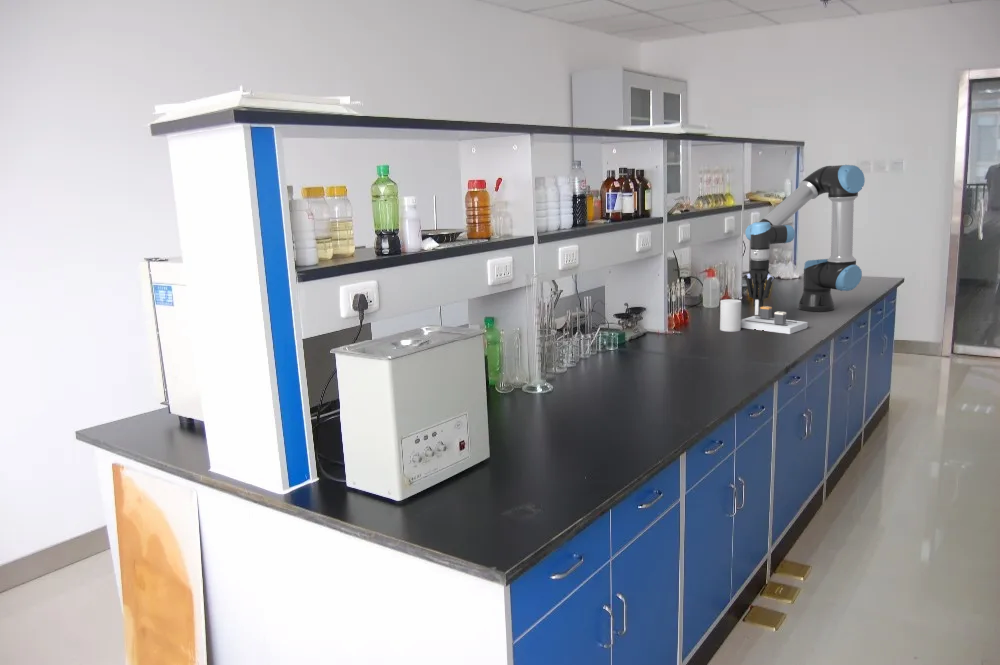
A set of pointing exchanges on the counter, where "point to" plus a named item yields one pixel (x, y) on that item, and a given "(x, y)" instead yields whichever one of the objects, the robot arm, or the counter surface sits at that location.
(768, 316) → the fader orange
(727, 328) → the cup
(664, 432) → the counter surface
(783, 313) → the fader cream
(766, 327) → the panel
